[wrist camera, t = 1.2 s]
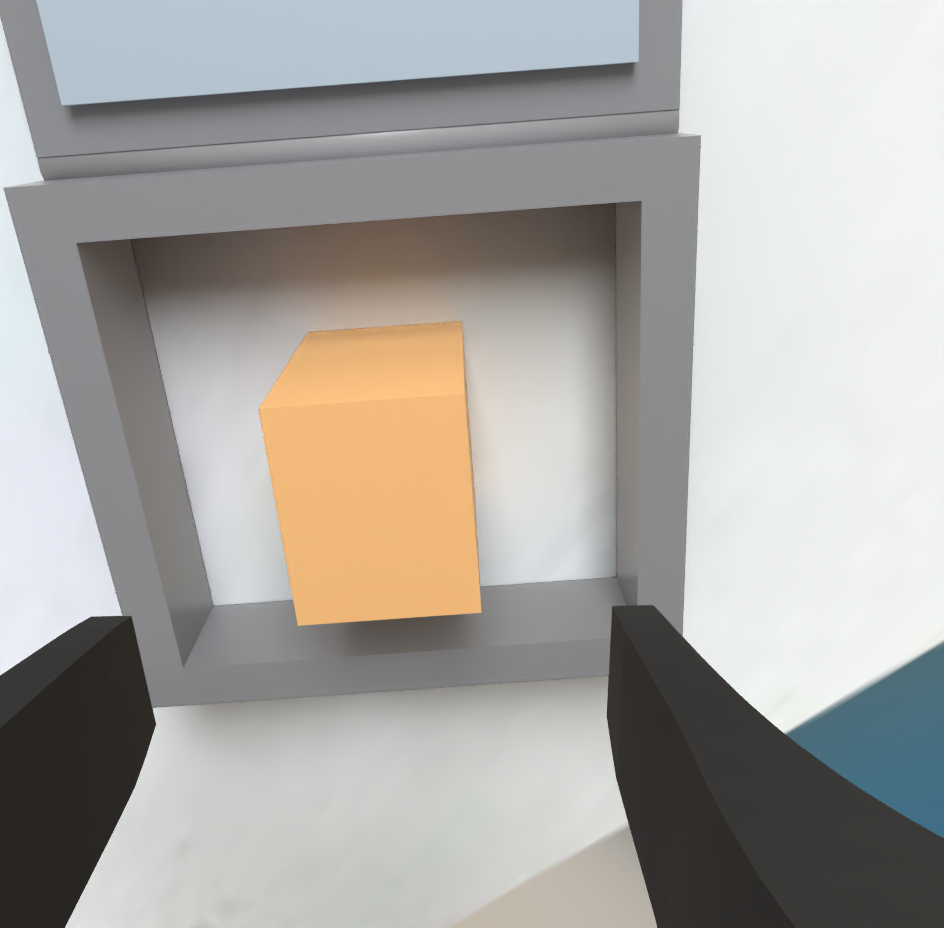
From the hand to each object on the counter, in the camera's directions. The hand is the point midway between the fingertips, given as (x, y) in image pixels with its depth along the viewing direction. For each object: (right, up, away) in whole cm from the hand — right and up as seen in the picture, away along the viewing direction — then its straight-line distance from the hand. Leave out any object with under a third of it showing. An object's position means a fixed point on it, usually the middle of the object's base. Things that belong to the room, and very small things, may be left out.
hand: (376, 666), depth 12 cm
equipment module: (-1, +4, +10) cm, 11 cm away
